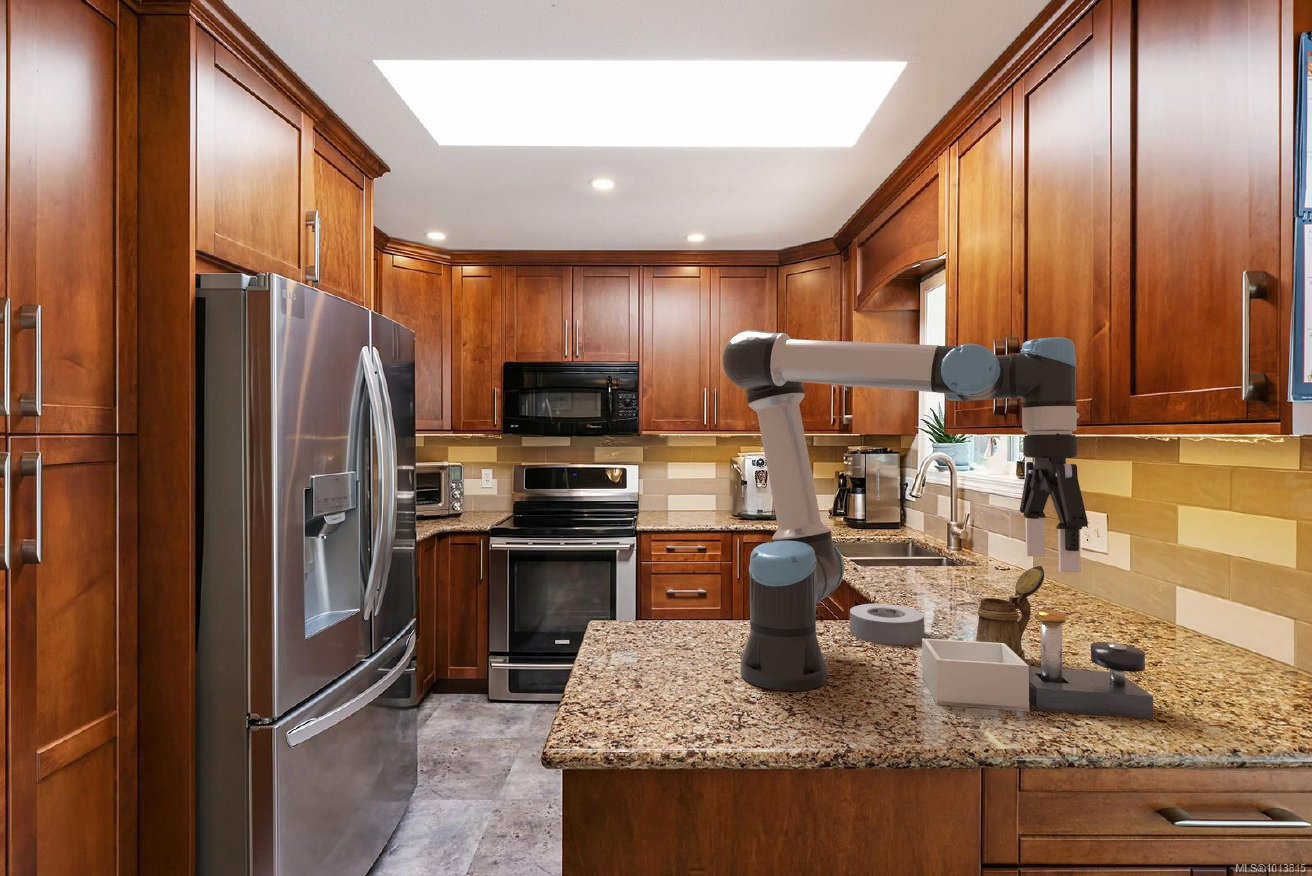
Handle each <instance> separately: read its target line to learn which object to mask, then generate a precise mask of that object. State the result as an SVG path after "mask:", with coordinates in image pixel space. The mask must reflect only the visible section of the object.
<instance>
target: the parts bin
mask: <svg viewBox="0 0 1312 876" xmlns="http://www.w3.org/2000/svg"><path fill="white" fill-rule="evenodd" d="M1029 667H1030V666H1029V665H1028V664H1027V662H1026V663H1025V662H1024V661H1023V660H1022V659H1021V658H1020V657H1019V656H1017V655H1016V654H1015V653H1014V652H1013V651H1012V650H1011V649H1010V648H1009V647H1008V646H1007V645H1006V644H1005V643H992V642H976V641H974V640H973V641H972V640H954V639H938V638H937V639H936V638H924V639H923V638H922V642H921V669H922V670H921V672H922V673H921V674H922V675H921V676H922V681H923V683H924V685H926V687H927V689H928V691H929V692H930V694H931V696H932V698H933V700H934V702H935V704H936V705H941V706H953V707H954V706H955V707H963V708H964V707H965V708H966V707H967V708H979V709H992V710H1004V711H1007V710H1008V711H1016V712H1030V703H1029Z"/></svg>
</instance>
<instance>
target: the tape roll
mask: <svg viewBox="0 0 1312 876" xmlns="http://www.w3.org/2000/svg"><path fill="white" fill-rule="evenodd" d="M849 632H850V634H851V635H852V637H855V638H856V639H859V640H863V641H865V642H869V643H874V644H880V645H887V646H888V645H889V646H909V645H910V646H911V645H916V644H920V643H922V638H923V639H925V616H924V614H923V613H922V611H919V610H917V609H915V608H911V607H908V606H903V605H897V604H889V603H864V604H860V605H855V606H853V607H851V608H850V609H849Z"/></svg>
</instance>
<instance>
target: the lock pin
mask: <svg viewBox="0 0 1312 876" xmlns="http://www.w3.org/2000/svg"><path fill="white" fill-rule="evenodd" d="M1066 615H1067V614H1066V613H1065V612H1063V611H1059V610H1056V609H1044V608H1043V609H1037V610H1036V620H1038V621H1040V622H1039V623H1040V626H1039V627H1040V668H1041V680H1042V681H1043V682H1054V683H1063V669H1064V668H1063V665H1064V664H1063V624H1065V623H1066V622H1067V617H1066Z"/></svg>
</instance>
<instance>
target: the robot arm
mask: <svg viewBox="0 0 1312 876" xmlns="http://www.w3.org/2000/svg"><path fill="white" fill-rule="evenodd" d="M722 355H723V356H722V366H723V371H724V373H725V374H726V377H727V378H728V380H730V381H731V382H732V383H733V384H734V385H735V386H737V387H739V388H741V389H744V390H745V394H746V395H745V396H746V400H747V405H748V407H749V408H750V409H752V410H753V411H754V412H755V413H756V414H757V419H758V420H757V421H758V425H759V430H760V431H759V432H760V436H761V441H762V446H763V447H762V448H763V452H764V457H765V458H764V459H765V463H766V469H767V475H768V479H769V485H770V490H771V496H772V501H773V507H774V512H775V518H776V524H777V530H776V531H775V533H774V534H773V535H772V538H771V540H772V542H768V541H767V542H764V543H761V544H759V545H757V546H756V547H754V548H753V549H752V551H751V552H750V559H749V561H750V562H749V566H748V572H749V616H750V617H749V622H750V624H749V627H750V629H749V634H748V636H747V641H746V644H745V647H744V650H743V653H742V656H741V659H740V676H741V677H742V679H743V680H745V681H746V682H748V683H749V684H752V685H754V686H756V687H760V688H763V689H768V690H772V691H773V690H774V691H781V692H801V691H809V690H813V689H816V688H819V687H821V686H822V685H824V684H825V683H826V681H827V665H826V662H825V659H824V655H823V653H822V650H821V646H820V644H819V641H818V637H817V631H816V630H817V629H816V628H817V625H816V622H817V615H816V612H817V611H816V609H817V606H816V605H817V603H819V602H821V601H822V600H824V599H827V598H828V597H830V596H831V595H832V594H833V593H834V592H835V591H836V590H837V589H838V587H839V586H840V584H841V582H842V581H843V579H844V576H845V575H844V574H845V562H844V558H843V556H842V553H841V551H840V550H839V548H837V546H835V544H834V541H833V536H832V530H831V528H829V527H828V526H827V525H826V524H824V523H823V522H822V519H821V514H820V509H819V503H818V499H817V494H816V488H815V483H814V477H813V473H812V468H811V462H810V457H809V451H808V450H809V449H808V446H807V441H806V436H805V435H806V433H805V429H804V424H803V419H802V413H801V408H800V404H801V402H802V401H803V399H804V398H805V396H806V395H805V389H804V383H806V384H808V383H809V384H822V385H834V386H835V385H836V386H846V387H847V386H849V387H860V388H861V387H862V388H874V389H886V390H897V391H898V390H899V391H900V390H901V391H913V392H914V391H915V392H927V393H930V392H931V393H938V394H944V397H945V399H946V400H948V401H951V402H952V401H953V402H954V401H957V402H958V401H959V402H970V401H988V400H990V401H991V400H1004V399H1005V400H1006V399H1011V400H1014V399H1015V400H1017V399H1021V400H1022V408H1021V409H1022V416H1021V417H1022V418H1021V419H1022V422H1021V423H1022V431H1023V432H1025V433H1026V435H1024V437H1022V448H1023V449H1022V450H1023V451H1022V453H1023V456H1024V457H1025V458H1033V459H1034V461H1027V462H1026V464H1025V466H1026V467H1025V468H1026V469H1025V479H1024V482H1023V483H1024V484H1023V488H1022V495H1021V501H1020V507H1019V512H1020V513H1022V514H1023V517H1024V518H1025V520H1024V521H1025V526H1024V527H1025V556H1026V557H1037V558H1038V557H1039V558H1043V557H1044V558H1045V551H1046V550H1045V548H1046V547H1045V519H1046V517H1047V516H1046V514H1045V512H1044V510H1045V507H1046V505H1047V503H1048V502H1047V501H1048V499H1049V496H1050V497H1051V500H1052V503H1053V505H1054V509H1055V512H1056V515H1057V518H1058V521H1059V522H1058V524H1057V525H1056V527H1055V528H1056V529H1057V534H1058V536H1057V539H1058V540H1057V541H1058V543H1057V544H1058V547H1057V549H1058V572H1060V573H1061V572H1062V573H1081V530H1082V529H1083V528H1085V527H1088V525H1089V521H1088V516H1087V513H1086V508H1085V504H1084V501H1083V496H1082V492H1081V486H1080V482H1079V476H1078V465H1077V464H1076V463H1067V459H1068V458H1069V459H1072V458H1073V459H1074V458H1076V457H1077V456H1078V436H1076V435H1075V434H1073V432H1075V431H1077V429H1078V428H1077V427H1078V424H1077V423H1078V422H1077V420H1078V419H1079V418H1080V413H1078V412H1077V376H1078V375H1077V374H1078V373H1077V367H1078V366H1077V358H1076V357H1077V356H1076V343H1074V342H1073V341H1072V339H1070V338H1067V337H1044V338H1038V339H1035V338H1034V339H1030V340H1027V341H1025V342H1023V343H1022V346H1021V349H1020V352H1018V353H1011V354H1002V355H1000V354H999V355H996V354H995V353H994V352H993V351H992V350H991V349H990V348H988V347H986V346H983V345H981V344H976V343H964V344H960V345H938V344H937V345H936V344H915V343H914V344H913V343H893V342H892V343H890V342H868V341H866V342H865V341H864V342H863V341H862V342H861V341H843V340H841V341H839V340H837V341H836V340H820V339H819V340H815V339H793V338H791V337H790V336H789V335H788V334H787V333H785V332H784V333H783V332H769V331H763V330H758V329H750V330H744V331H742V332H739V333H737V334H736V335H734V336H733V337H732V338H730V340H729V341H728V343H727V344H726V346H725V348H724V351H723V353H722Z"/></svg>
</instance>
